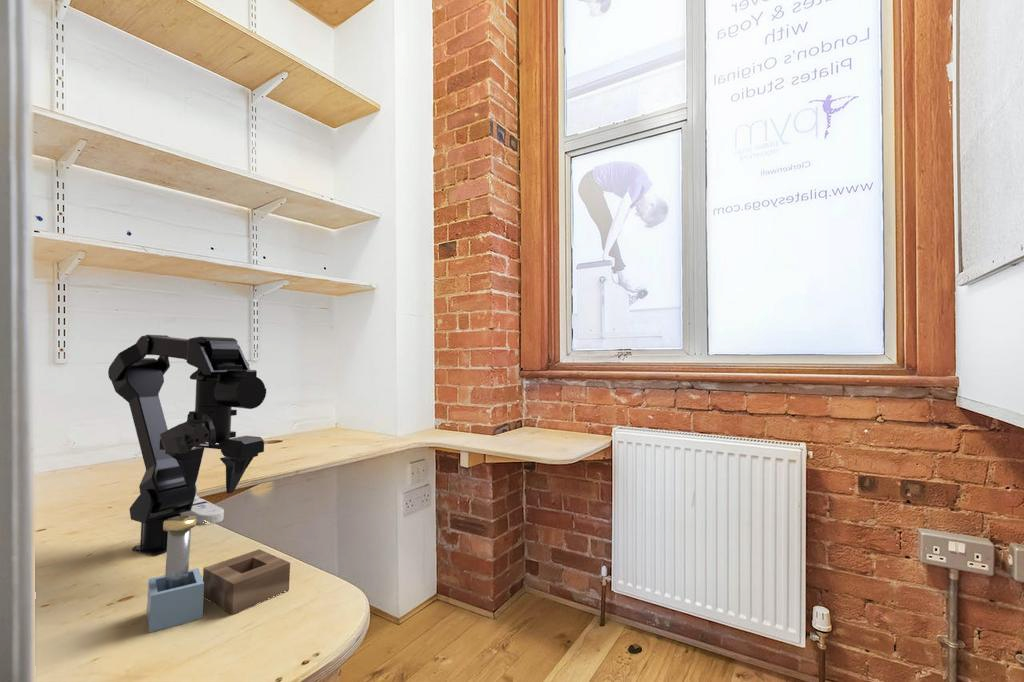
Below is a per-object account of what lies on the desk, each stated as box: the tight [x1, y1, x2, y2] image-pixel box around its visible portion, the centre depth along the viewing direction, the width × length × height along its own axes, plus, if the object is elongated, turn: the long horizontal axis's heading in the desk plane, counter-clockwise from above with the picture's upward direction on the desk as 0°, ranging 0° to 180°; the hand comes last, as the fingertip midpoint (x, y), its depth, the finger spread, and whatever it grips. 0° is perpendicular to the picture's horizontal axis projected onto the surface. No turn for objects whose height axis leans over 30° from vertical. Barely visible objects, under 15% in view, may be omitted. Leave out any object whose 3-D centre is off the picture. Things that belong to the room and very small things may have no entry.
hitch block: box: [202, 548, 291, 616], centre depth 77 cm, size 9×9×4 cm
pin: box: [163, 515, 197, 590], centre depth 71 cm, size 4×4×14 cm
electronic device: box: [179, 479, 225, 525], centre depth 112 cm, size 5×10×15 cm
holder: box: [146, 567, 204, 634], centre depth 70 cm, size 6×6×5 cm
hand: (210, 490), depth 88 cm, fingers open, 9 cm apart
